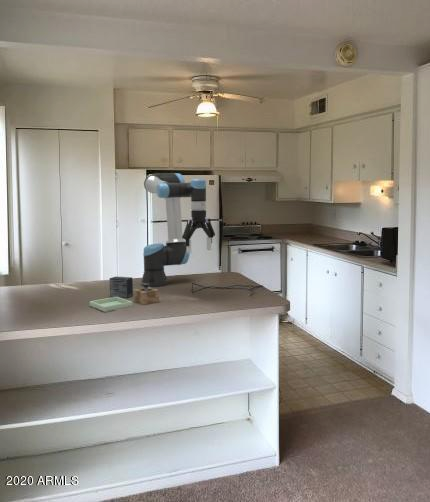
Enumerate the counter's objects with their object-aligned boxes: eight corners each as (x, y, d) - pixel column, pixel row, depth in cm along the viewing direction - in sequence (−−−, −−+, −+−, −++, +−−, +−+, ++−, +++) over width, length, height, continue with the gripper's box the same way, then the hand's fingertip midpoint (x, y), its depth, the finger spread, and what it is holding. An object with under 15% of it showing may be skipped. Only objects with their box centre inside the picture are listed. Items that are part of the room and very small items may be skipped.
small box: (133, 296, 270) (133, 277, 268) (127, 299, 264) (127, 279, 262) (116, 295, 273) (115, 275, 272) (109, 298, 267) (108, 278, 265)
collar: (133, 301, 256) (133, 289, 255) (149, 298, 262) (148, 287, 261) (143, 304, 249) (143, 292, 249) (159, 301, 255) (158, 289, 254)
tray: (89, 306, 250) (89, 301, 249) (117, 301, 259) (116, 296, 259) (104, 312, 238) (104, 307, 238) (132, 306, 248) (132, 301, 248)
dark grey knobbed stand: (135, 302, 256) (134, 283, 255) (148, 300, 261) (148, 281, 260) (144, 305, 250) (143, 285, 249) (157, 302, 255) (157, 283, 254)
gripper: (184, 211, 248) (185, 254, 252) (221, 208, 265) (221, 249, 268) (174, 210, 254) (175, 253, 257) (211, 208, 271) (212, 248, 274)
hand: (199, 251), depth 263 cm, fingers open, 13 cm apart
